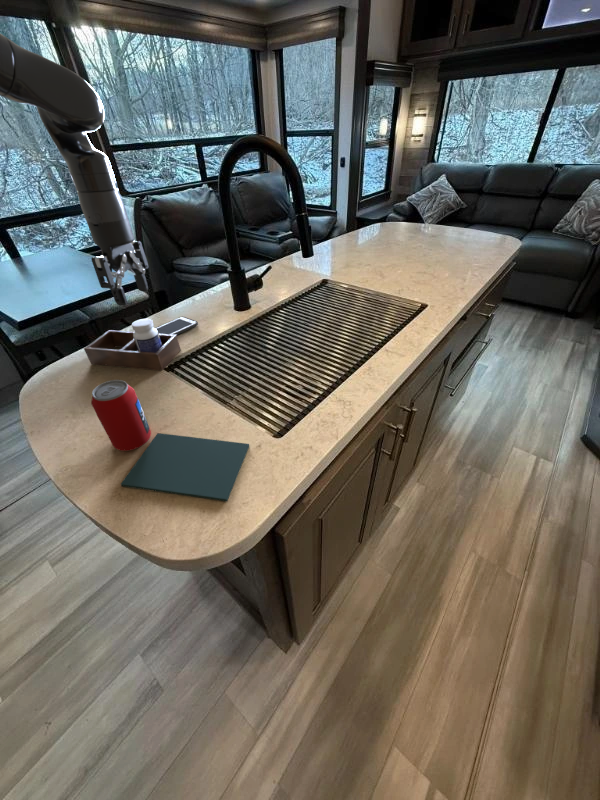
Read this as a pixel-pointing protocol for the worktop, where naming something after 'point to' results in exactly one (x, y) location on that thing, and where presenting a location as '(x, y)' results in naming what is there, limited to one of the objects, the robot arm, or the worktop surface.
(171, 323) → the cell phone
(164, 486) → the mat
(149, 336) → the pill bottle
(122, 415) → the beverage can
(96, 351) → the divided tray
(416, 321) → the worktop surface
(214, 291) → the worktop surface
